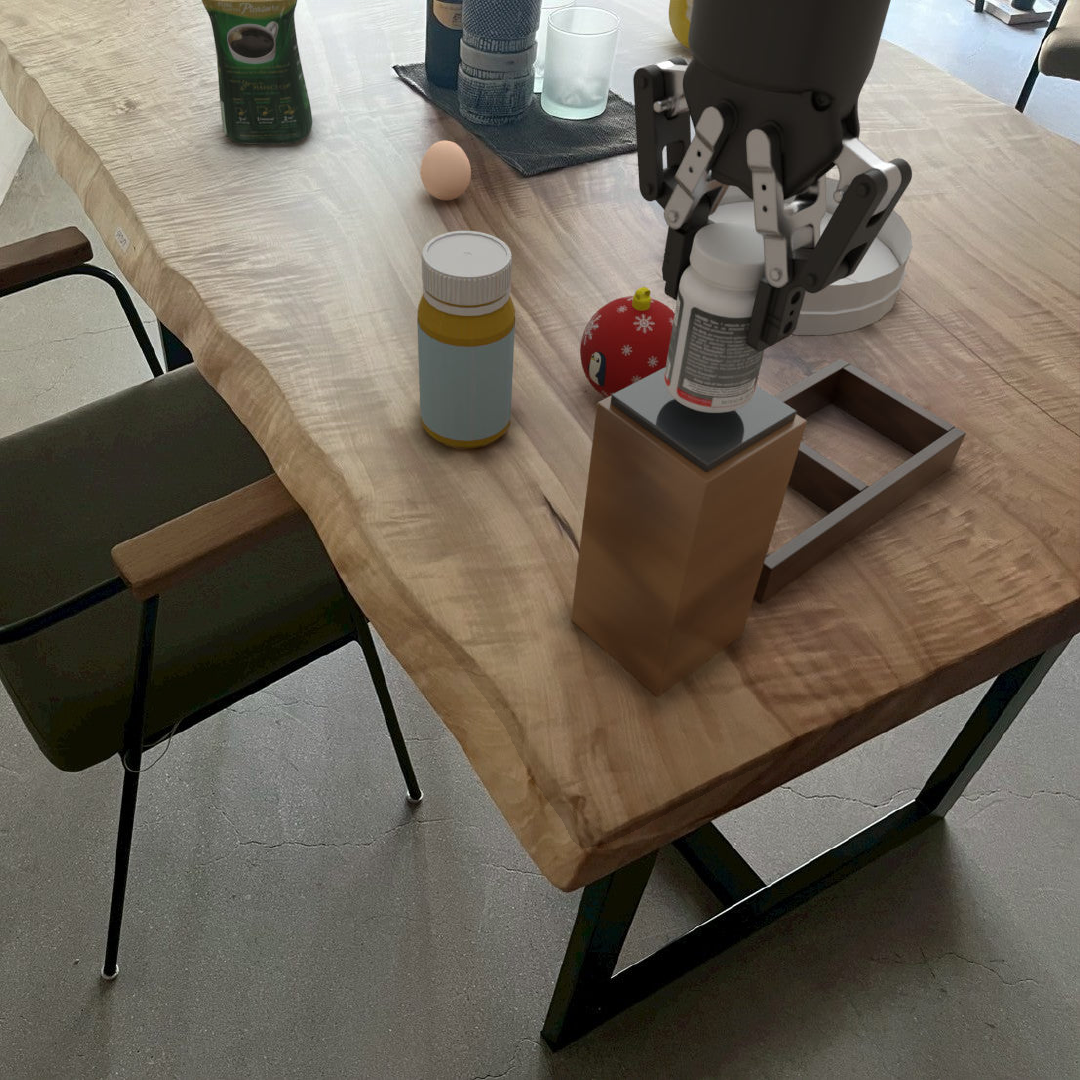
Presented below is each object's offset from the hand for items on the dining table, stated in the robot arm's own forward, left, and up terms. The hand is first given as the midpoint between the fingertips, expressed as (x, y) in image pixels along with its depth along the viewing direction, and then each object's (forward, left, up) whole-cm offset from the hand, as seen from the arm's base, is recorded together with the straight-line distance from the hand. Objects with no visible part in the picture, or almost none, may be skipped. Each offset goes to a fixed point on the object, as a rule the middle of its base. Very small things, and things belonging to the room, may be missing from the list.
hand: (723, 316), depth 51 cm
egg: (+54, -24, -24) cm, 64 cm away
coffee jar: (+77, -17, -24) cm, 83 cm away
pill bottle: (0, 0, -5) cm, 5 cm away
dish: (+24, -42, -24) cm, 54 cm away
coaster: (0, 0, -6) cm, 6 cm away
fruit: (+67, -77, -24) cm, 105 cm away
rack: (+3, -19, -24) cm, 30 cm away
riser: (0, 0, -24) cm, 24 cm away
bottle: (+24, -3, -24) cm, 34 cm away
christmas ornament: (+19, -16, -24) cm, 35 cm away
